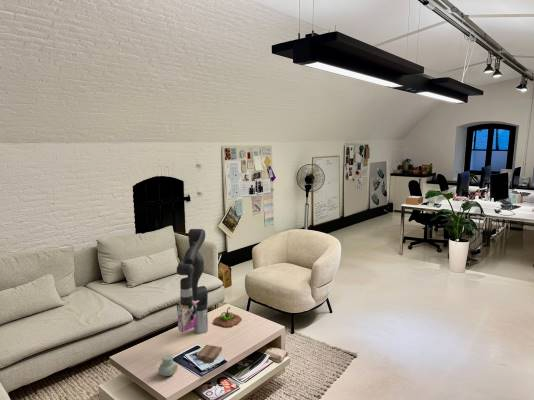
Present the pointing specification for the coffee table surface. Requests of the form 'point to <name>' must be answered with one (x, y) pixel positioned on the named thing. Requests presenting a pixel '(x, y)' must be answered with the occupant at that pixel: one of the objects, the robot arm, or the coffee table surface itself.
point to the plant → (227, 320)
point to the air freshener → (168, 366)
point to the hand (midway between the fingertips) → (187, 319)
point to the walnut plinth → (209, 353)
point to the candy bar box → (185, 318)
